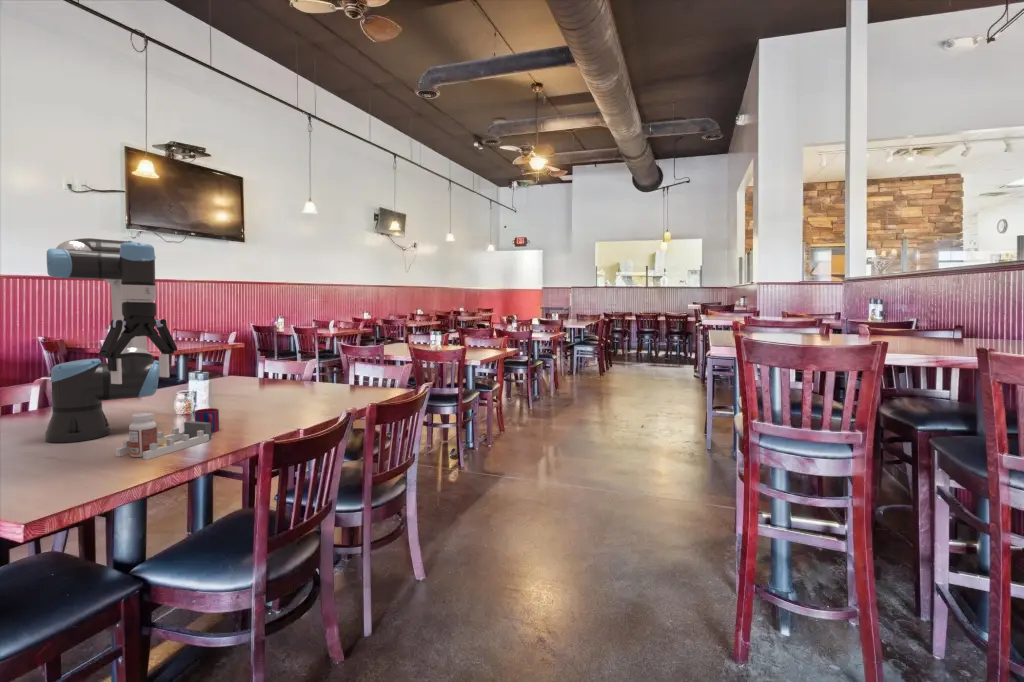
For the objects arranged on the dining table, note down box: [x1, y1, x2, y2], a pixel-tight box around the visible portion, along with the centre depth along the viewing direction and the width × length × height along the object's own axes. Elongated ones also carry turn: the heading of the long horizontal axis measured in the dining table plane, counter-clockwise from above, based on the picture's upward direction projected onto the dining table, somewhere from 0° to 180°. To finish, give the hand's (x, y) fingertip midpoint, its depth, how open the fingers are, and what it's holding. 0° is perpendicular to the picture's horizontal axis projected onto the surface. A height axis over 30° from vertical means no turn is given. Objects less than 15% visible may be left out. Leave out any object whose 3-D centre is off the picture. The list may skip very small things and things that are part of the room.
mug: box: [194, 407, 220, 434], centre depth 166 cm, size 7×10×7 cm
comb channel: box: [115, 420, 212, 461], centre depth 148 cm, size 10×22×5 cm, turn 165°
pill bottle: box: [128, 412, 158, 458], centre depth 140 cm, size 6×6×11 cm
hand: (141, 380), depth 139 cm, fingers open, 13 cm apart
